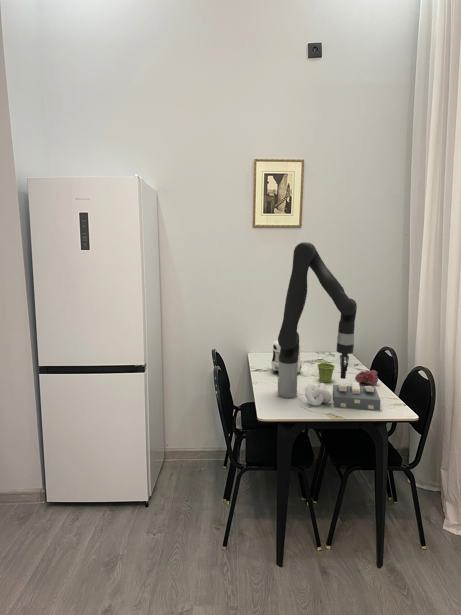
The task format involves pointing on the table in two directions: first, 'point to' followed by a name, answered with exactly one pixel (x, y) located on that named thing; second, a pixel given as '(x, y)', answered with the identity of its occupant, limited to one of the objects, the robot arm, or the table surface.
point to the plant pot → (325, 372)
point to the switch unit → (356, 399)
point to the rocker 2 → (355, 388)
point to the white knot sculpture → (317, 394)
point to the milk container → (276, 357)
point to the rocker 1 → (342, 387)
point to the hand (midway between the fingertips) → (342, 378)
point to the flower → (367, 377)
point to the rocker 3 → (369, 388)
